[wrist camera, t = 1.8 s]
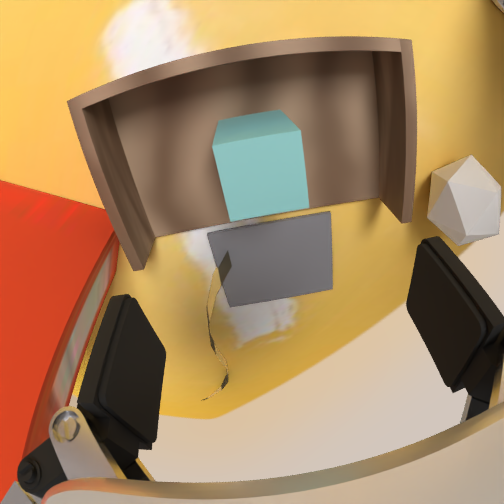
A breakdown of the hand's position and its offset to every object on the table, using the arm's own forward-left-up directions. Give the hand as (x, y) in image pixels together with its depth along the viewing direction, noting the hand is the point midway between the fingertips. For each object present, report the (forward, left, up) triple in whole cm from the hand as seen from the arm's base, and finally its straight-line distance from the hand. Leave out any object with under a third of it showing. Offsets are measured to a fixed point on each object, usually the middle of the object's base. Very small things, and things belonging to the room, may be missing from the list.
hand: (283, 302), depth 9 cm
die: (-20, +7, -19) cm, 28 cm away
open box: (0, 0, -19) cm, 19 cm away
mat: (0, +13, -19) cm, 23 cm away
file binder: (+23, +3, -19) cm, 30 cm away
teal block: (0, 0, -18) cm, 18 cm away
